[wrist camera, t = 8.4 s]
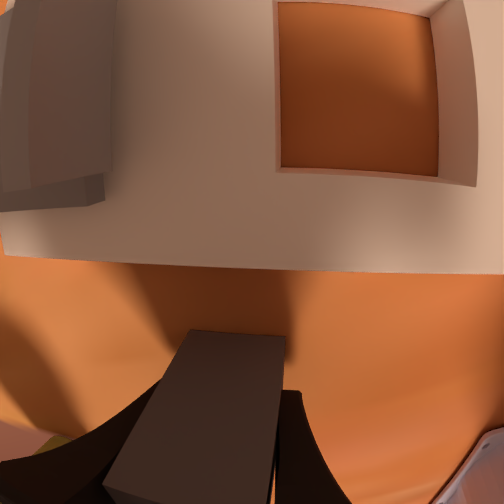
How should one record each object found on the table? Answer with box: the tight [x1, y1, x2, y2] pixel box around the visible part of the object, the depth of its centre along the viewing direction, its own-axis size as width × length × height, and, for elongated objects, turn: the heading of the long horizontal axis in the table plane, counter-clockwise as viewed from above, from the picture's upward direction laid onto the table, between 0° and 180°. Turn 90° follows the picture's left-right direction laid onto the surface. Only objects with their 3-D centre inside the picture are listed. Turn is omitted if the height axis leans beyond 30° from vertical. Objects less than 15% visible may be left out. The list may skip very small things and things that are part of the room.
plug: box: [102, 330, 285, 504], centre depth 8 cm, size 4×4×8 cm
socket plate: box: [0, 0, 504, 274], centre depth 7 cm, size 10×18×2 cm, turn 91°
